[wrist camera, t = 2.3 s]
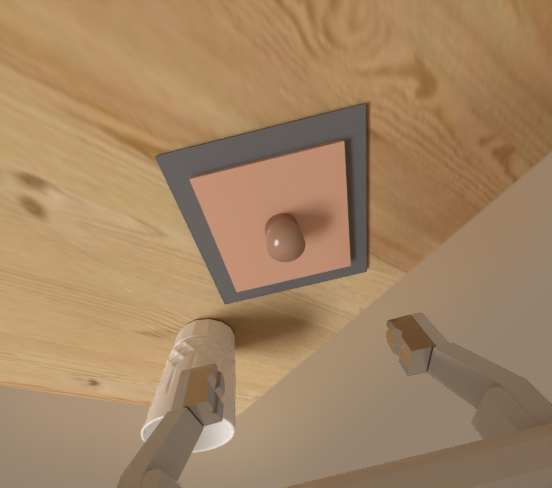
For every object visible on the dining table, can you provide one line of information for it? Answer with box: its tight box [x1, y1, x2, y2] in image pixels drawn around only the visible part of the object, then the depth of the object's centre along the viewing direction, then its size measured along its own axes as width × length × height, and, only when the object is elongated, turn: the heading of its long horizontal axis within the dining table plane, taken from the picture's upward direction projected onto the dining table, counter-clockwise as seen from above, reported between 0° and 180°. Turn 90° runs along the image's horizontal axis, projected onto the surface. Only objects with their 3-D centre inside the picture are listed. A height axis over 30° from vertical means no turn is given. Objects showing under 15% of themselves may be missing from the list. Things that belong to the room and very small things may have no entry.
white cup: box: [141, 319, 236, 453], centre depth 24 cm, size 8×8×10 cm
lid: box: [189, 140, 351, 292], centre depth 20 cm, size 12×12×4 cm
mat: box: [155, 104, 367, 304], centre depth 21 cm, size 16×16×1 cm
